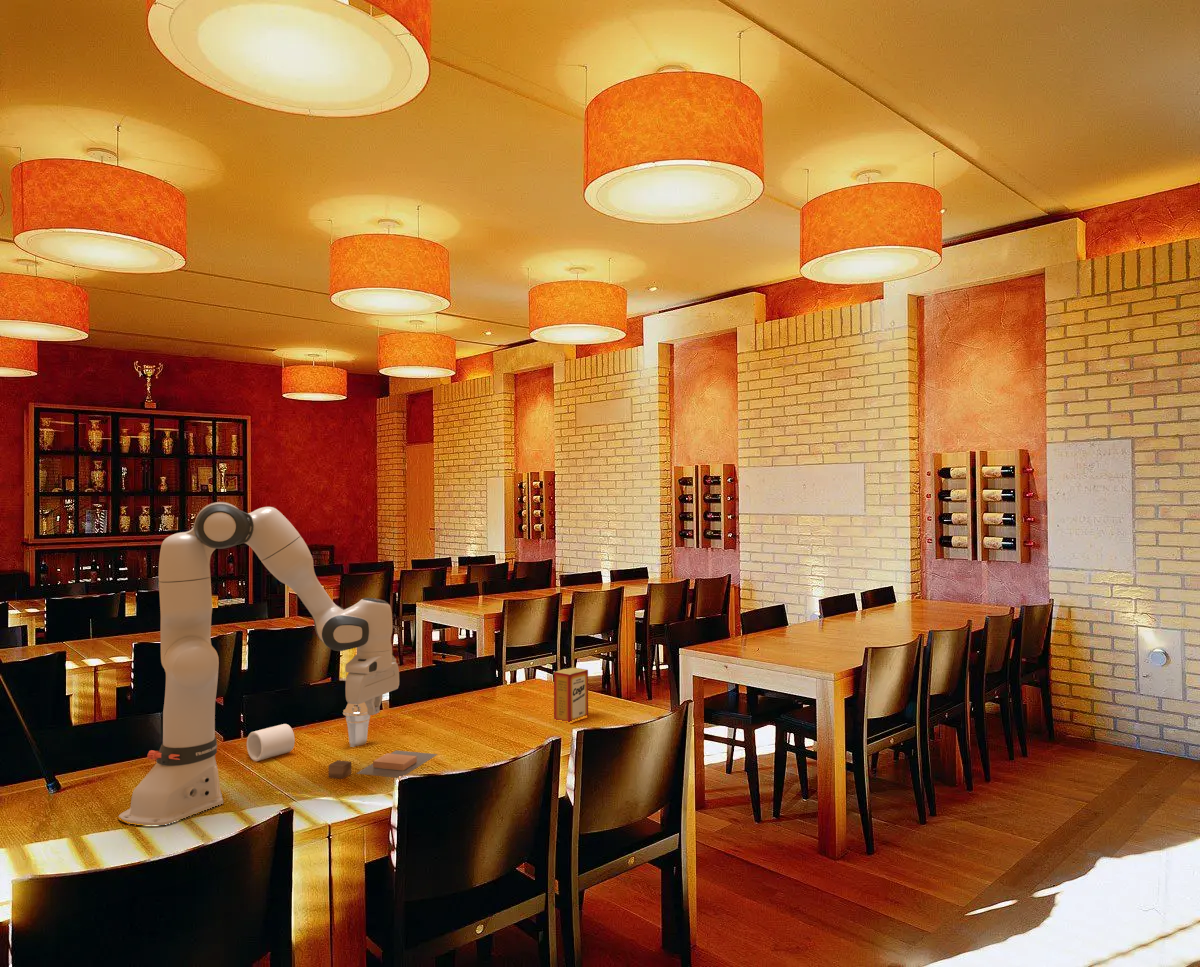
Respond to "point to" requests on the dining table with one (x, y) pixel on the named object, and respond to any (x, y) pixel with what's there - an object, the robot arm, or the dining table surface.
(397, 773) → the slate board
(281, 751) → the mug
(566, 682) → the baking soda box
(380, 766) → the tile
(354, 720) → the cup with straw
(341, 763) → the walnut cube
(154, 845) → the dining table surface
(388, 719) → the dining table surface
